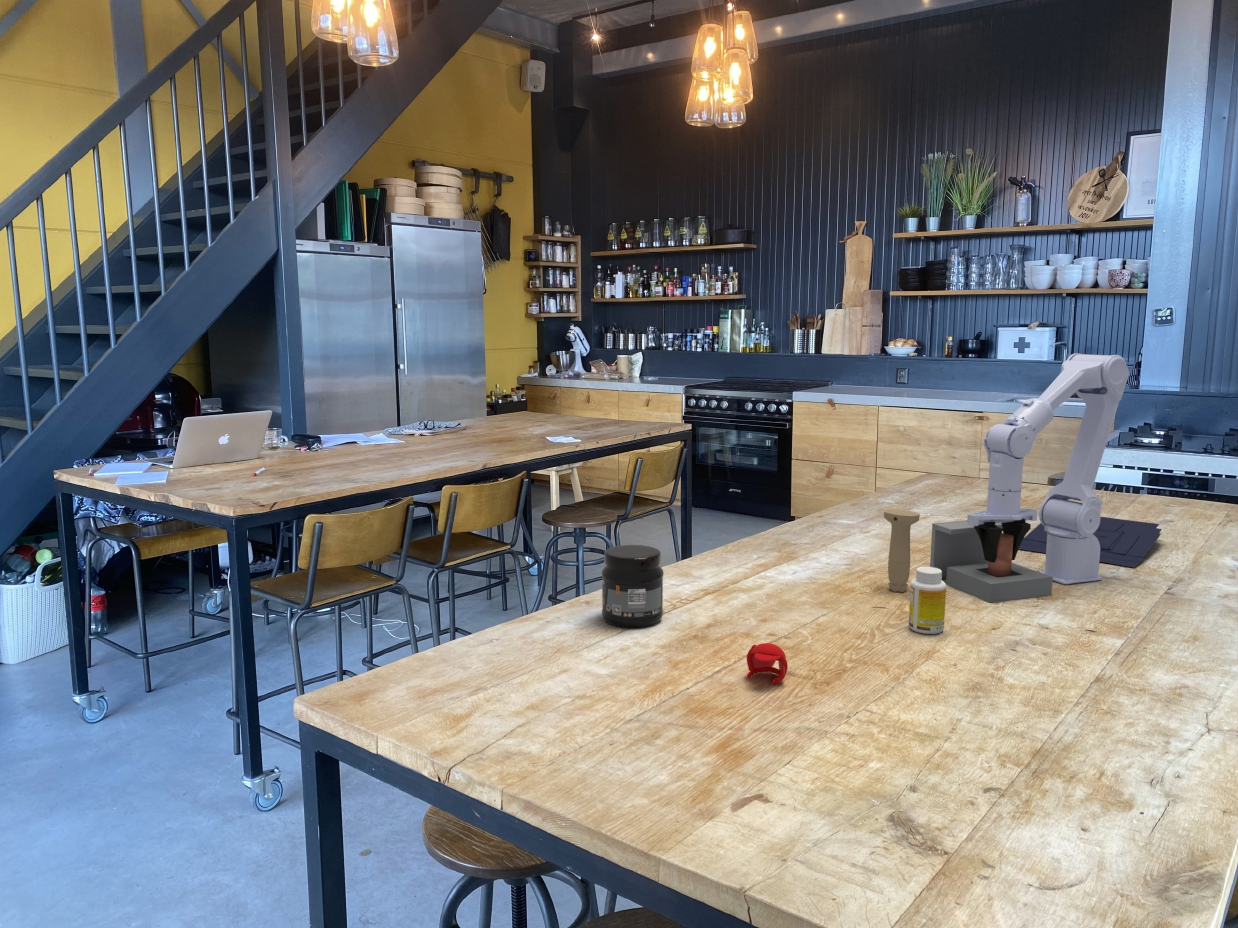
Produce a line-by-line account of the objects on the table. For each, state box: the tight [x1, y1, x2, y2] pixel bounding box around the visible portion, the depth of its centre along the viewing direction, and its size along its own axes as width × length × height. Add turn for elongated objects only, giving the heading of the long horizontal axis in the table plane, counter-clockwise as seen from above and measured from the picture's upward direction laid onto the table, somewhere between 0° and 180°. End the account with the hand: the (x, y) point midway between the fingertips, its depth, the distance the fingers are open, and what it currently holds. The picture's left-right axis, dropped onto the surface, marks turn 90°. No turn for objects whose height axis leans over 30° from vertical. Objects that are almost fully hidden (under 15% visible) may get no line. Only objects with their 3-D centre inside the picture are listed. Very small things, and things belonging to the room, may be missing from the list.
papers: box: [1018, 516, 1162, 569], centre depth 205 cm, size 24×30×4 cm
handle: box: [883, 508, 921, 593], centre depth 171 cm, size 5×6×15 cm
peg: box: [988, 532, 1014, 578], centre depth 171 cm, size 4×4×8 cm
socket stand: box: [929, 519, 1053, 604], centre depth 174 cm, size 14×17×11 cm
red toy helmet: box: [746, 642, 789, 685], centre depth 130 cm, size 7×6×6 cm
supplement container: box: [600, 544, 665, 629], centre depth 155 cm, size 10×10×12 cm
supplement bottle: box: [908, 566, 947, 635], centre depth 150 cm, size 6×6×10 cm
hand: (999, 559), depth 171 cm, fingers closed on peg, 4 cm apart
